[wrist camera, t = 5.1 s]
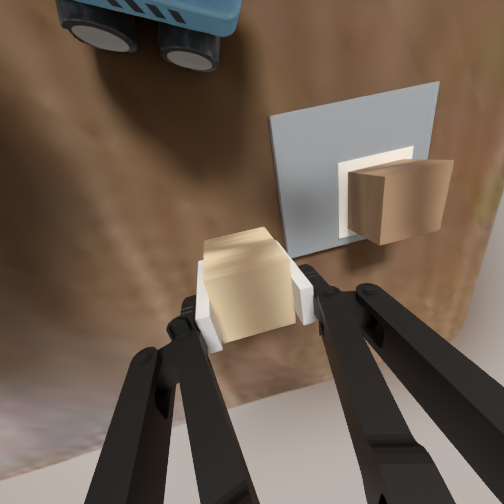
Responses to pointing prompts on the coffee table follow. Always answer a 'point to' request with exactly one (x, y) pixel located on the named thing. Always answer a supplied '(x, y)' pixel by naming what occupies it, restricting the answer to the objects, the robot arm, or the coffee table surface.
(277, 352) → the coffee table surface
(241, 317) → the maple block
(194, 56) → the toy excavator
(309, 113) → the pad
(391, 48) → the coffee table surface
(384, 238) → the walnut block
